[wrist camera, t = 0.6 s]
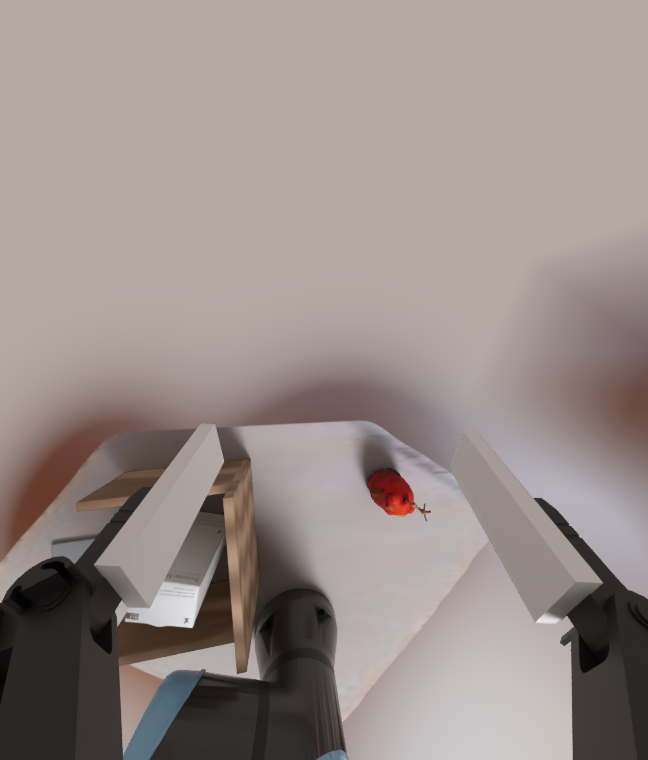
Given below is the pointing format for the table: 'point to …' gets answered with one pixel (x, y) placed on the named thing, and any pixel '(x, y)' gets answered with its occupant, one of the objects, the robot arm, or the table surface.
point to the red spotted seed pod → (392, 493)
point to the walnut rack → (223, 599)
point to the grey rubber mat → (71, 548)
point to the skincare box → (186, 576)
